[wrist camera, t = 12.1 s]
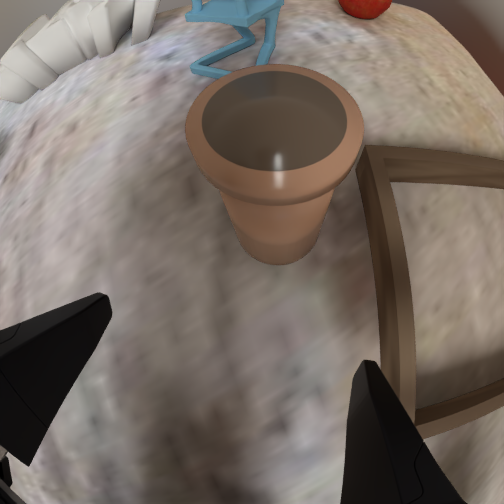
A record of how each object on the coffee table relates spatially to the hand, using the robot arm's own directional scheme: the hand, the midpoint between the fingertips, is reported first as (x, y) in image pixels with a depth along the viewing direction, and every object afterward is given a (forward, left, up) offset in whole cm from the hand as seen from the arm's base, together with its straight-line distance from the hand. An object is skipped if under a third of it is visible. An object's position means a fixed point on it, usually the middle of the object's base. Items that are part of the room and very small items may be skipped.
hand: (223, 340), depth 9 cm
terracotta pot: (+7, -2, -8) cm, 11 cm away
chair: (+26, 0, -8) cm, 27 cm away
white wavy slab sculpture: (+40, +26, -8) cm, 48 cm away
